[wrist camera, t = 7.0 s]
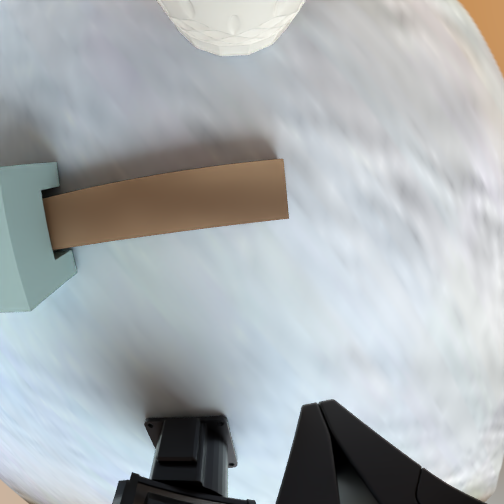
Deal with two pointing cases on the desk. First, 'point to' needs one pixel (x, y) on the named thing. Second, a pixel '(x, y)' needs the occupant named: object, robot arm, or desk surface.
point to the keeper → (28, 239)
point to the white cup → (231, 23)
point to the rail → (168, 203)
